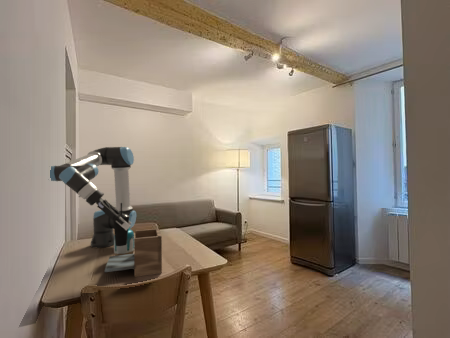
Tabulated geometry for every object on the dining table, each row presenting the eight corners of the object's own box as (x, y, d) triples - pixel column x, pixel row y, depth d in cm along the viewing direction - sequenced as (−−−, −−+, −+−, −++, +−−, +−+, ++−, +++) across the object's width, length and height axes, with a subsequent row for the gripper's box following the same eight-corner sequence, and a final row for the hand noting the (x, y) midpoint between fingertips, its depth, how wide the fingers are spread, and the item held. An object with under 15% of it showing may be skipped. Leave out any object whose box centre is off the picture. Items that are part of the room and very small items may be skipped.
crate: (109, 266, 123) (109, 232, 124) (159, 260, 131) (158, 228, 131) (104, 281, 106) (104, 241, 107) (161, 272, 114) (161, 236, 114)
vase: (114, 263, 128) (114, 226, 128) (113, 257, 137) (113, 223, 137) (135, 259, 132) (135, 224, 133) (133, 254, 142) (133, 221, 142)
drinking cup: (115, 242, 120) (115, 202, 121) (131, 242, 121) (131, 202, 122) (109, 247, 113) (110, 204, 113) (126, 246, 113) (126, 203, 114)
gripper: (89, 198, 122) (124, 228, 127) (79, 202, 103) (121, 237, 108) (101, 187, 124) (135, 217, 129) (93, 189, 105) (134, 224, 110)
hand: (128, 226), depth 118 cm, fingers closed on drinking cup, 7 cm apart
